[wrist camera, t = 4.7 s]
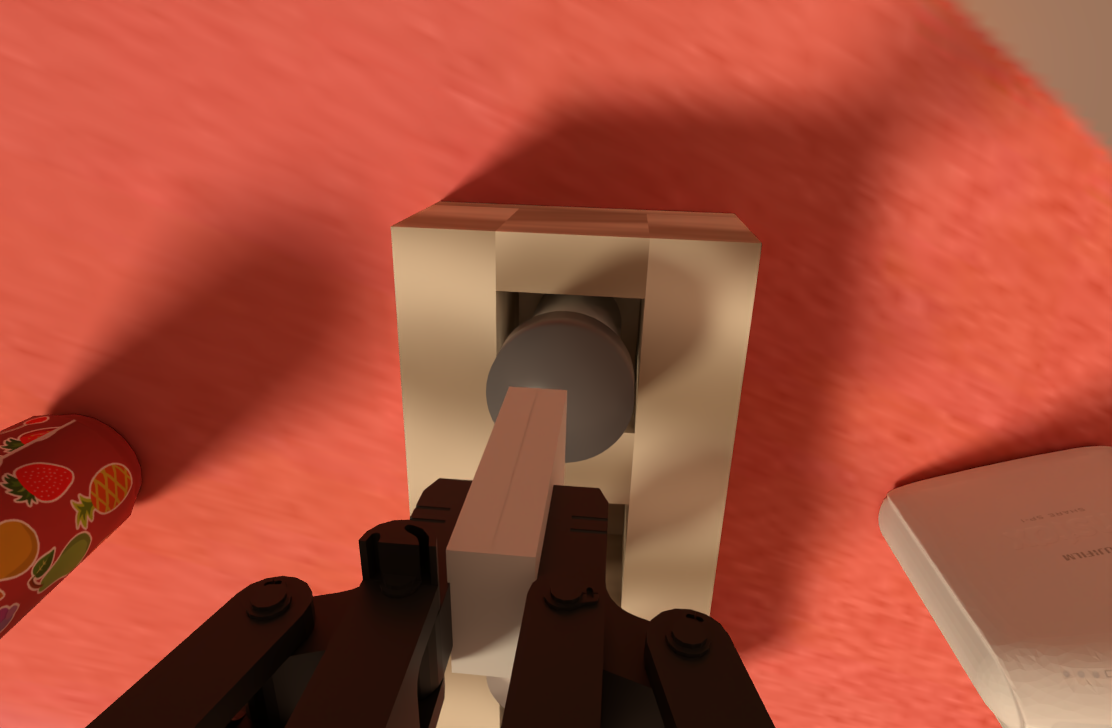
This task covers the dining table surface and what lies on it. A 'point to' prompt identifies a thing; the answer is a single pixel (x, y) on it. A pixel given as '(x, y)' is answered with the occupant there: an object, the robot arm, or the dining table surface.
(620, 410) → the knob
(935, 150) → the dining table surface
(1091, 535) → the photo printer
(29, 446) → the smoothie
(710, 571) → the tan rectangular block
